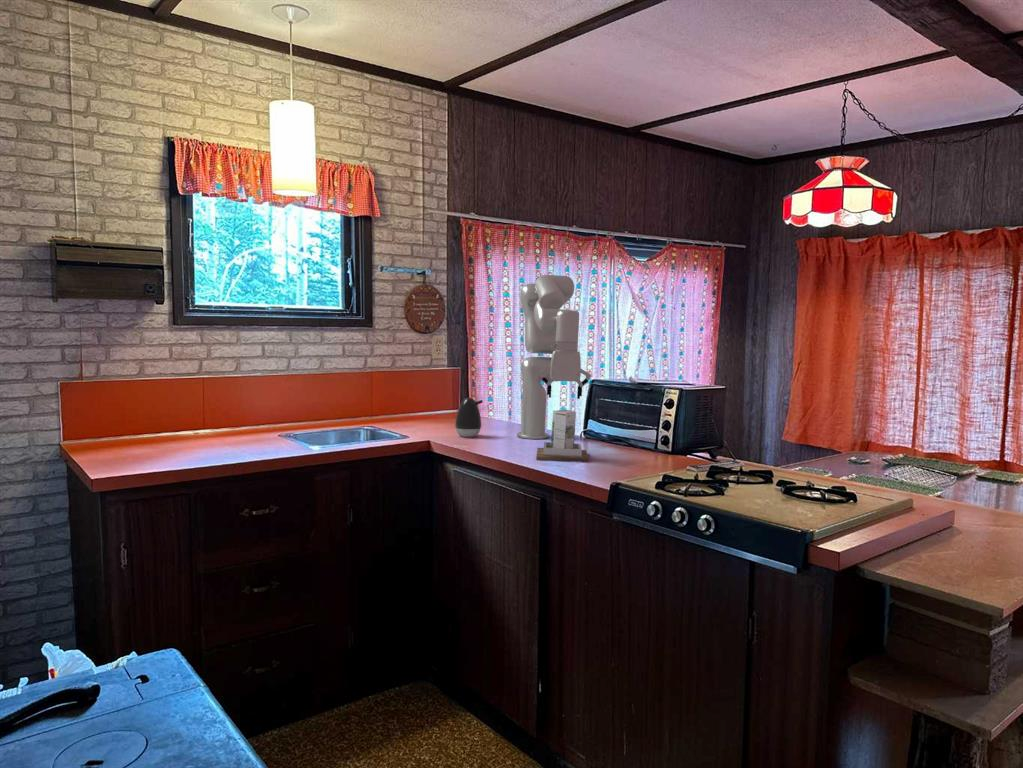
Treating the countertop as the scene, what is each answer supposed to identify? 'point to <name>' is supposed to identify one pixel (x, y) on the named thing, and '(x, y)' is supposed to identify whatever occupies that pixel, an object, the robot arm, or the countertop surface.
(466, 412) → the pump dispenser
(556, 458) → the tray
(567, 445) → the syrup box
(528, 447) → the countertop surface
